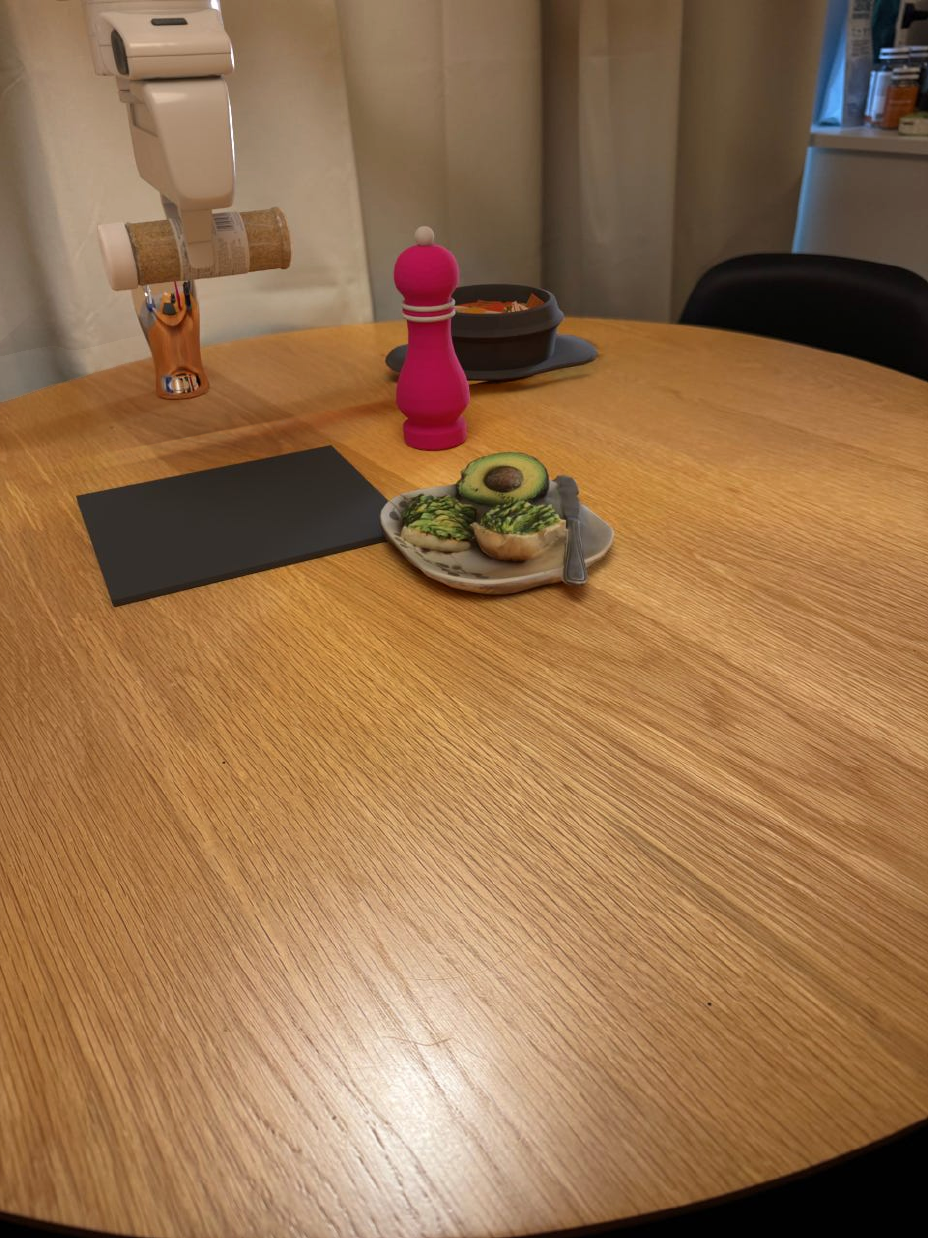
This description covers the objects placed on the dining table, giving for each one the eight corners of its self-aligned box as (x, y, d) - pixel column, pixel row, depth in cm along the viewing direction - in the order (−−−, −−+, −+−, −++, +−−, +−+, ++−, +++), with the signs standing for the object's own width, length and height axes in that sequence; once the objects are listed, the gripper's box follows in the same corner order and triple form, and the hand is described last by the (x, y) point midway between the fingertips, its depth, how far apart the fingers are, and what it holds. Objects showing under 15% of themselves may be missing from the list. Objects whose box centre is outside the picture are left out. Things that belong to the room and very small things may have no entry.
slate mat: (113, 607, 71) (111, 600, 70) (77, 501, 87) (75, 495, 87) (416, 533, 79) (416, 527, 79) (331, 450, 95) (331, 444, 95)
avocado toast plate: (676, 582, 71) (683, 525, 69) (452, 634, 65) (451, 575, 63) (552, 481, 86) (555, 432, 84) (361, 517, 80) (358, 465, 78)
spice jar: (275, 235, 77) (99, 255, 72) (279, 191, 73) (92, 209, 68) (292, 282, 76) (113, 305, 71) (296, 240, 71) (107, 262, 67)
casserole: (579, 342, 124) (581, 274, 120) (613, 388, 108) (616, 311, 104) (383, 354, 122) (378, 285, 118) (389, 403, 107) (383, 325, 102)
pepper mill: (456, 456, 93) (447, 234, 82) (387, 448, 95) (369, 232, 85) (481, 429, 99) (475, 219, 88) (415, 423, 101) (402, 217, 90)
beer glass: (181, 404, 109) (154, 264, 101) (139, 395, 112) (110, 258, 104) (226, 386, 113) (204, 251, 106) (184, 378, 117) (160, 246, 109)
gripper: (93, 44, 72) (131, 241, 79) (129, 45, 56) (173, 292, 63) (179, 41, 74) (209, 233, 81) (238, 41, 58) (269, 280, 65)
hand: (194, 259), depth 72 cm, fingers closed on spice jar, 4 cm apart
